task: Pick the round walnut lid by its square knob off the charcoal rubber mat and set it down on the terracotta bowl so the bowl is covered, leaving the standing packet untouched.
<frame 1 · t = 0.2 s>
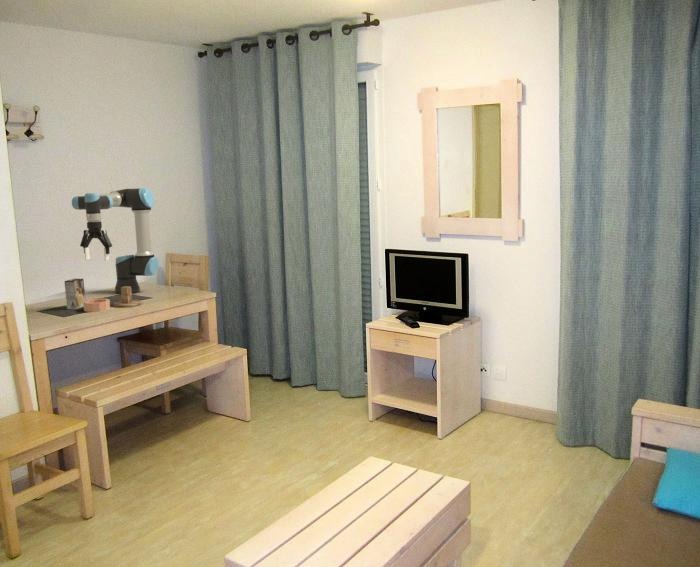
hand: (97, 259, 381), 27 cm above the table, fingers open, 13 cm apart
bowl: (97, 309, 380), on the table
coffee box: (76, 308, 388), on the table
mat: (127, 305, 391), on the table
lid: (127, 304, 391), resting on mat
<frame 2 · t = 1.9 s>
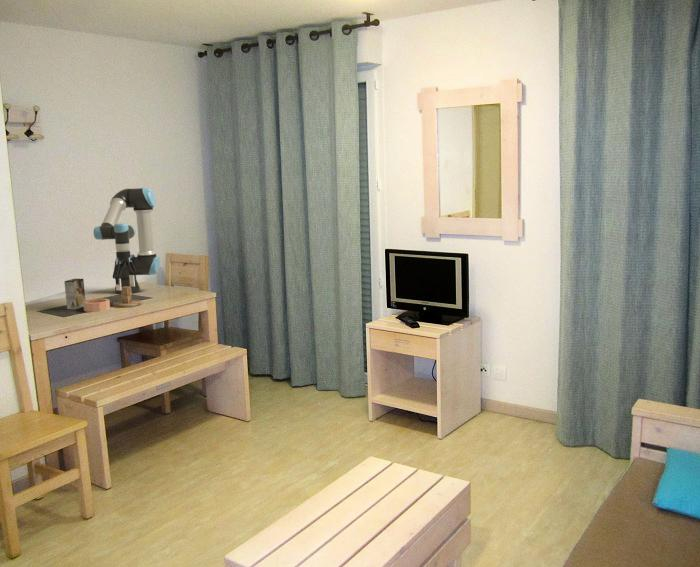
hand: (125, 288, 389), 10 cm above the table, fingers open, 13 cm apart
nothing on the table moved.
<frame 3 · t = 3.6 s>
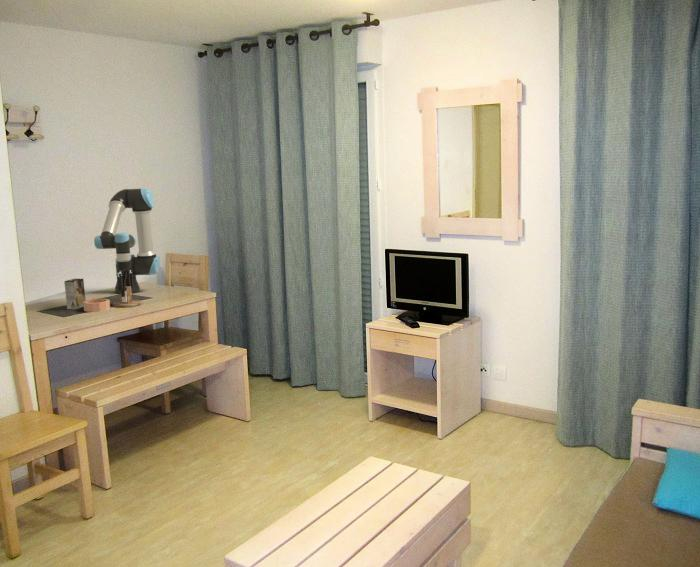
hand: (127, 301, 390), 2 cm above the table, fingers closed on lid, 4 cm apart
lid: (127, 304, 391), resting on mat, touching gripper
everything else where it was.
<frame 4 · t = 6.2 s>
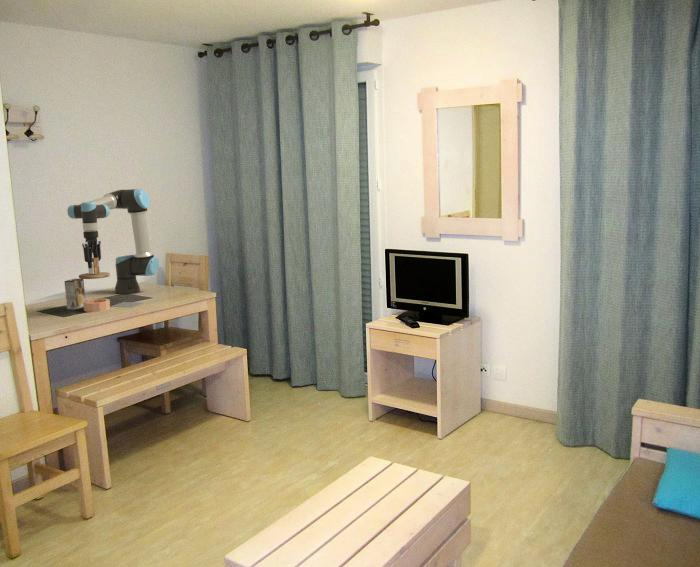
hand: (94, 273, 377), 21 cm above the table, fingers closed on lid, 4 cm apart
lid: (94, 276, 377), point 19 cm above the table, touching gripper
everything else where it was.
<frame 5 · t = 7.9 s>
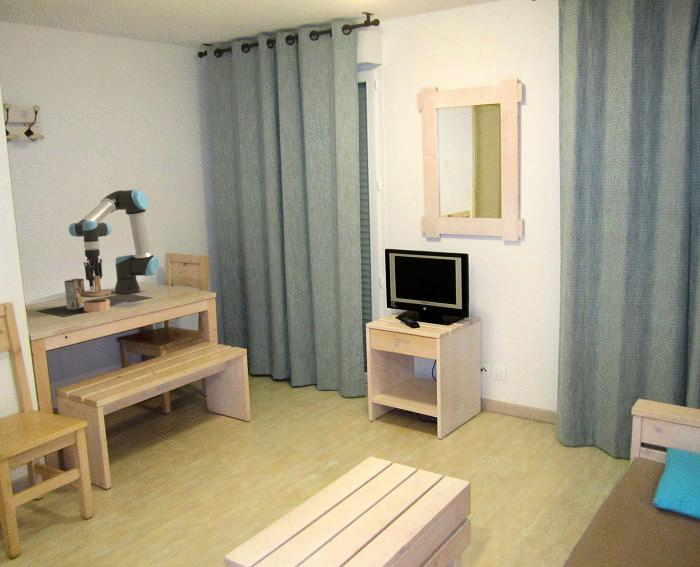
hand: (95, 291, 378), 11 cm above the table, fingers closed on lid, 4 cm apart
lid: (95, 294, 378), point 9 cm above the table, touching gripper
everything else where it was.
when the fingers open (9 cm above the table, at t = 9.0 s): lid drops 2 cm, resting on bowl.
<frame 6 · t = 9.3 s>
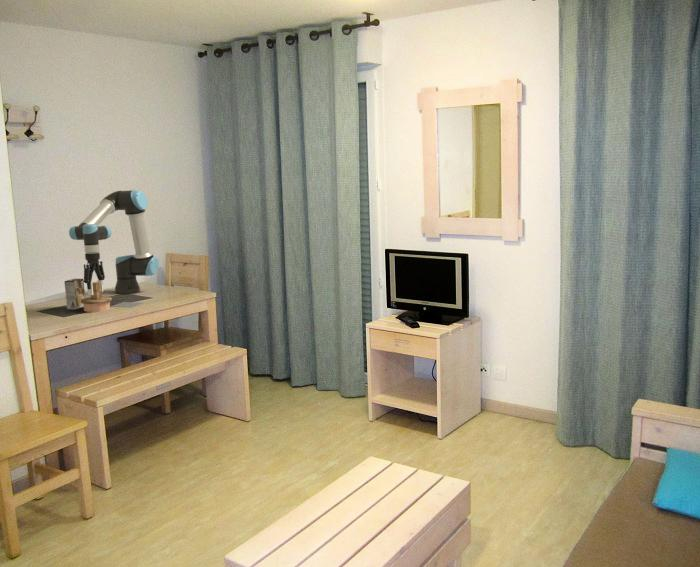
hand: (95, 293, 378), 9 cm above the table, fingers open, 8 cm apart
lid: (96, 301, 379), point 5 cm above the table, touching bowl
everything else where it was.
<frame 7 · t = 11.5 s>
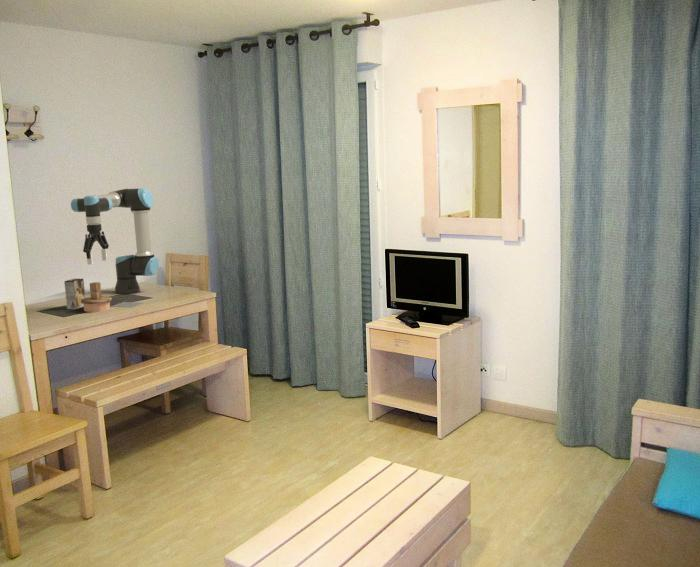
hand: (97, 262, 380), 26 cm above the table, fingers open, 13 cm apart
nothing on the table moved.
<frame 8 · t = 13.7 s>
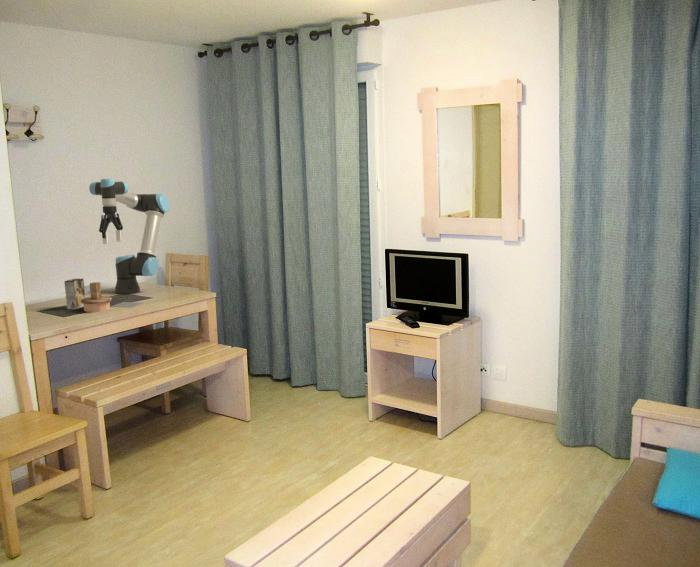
hand: (112, 242, 398), 35 cm above the table, fingers open, 13 cm apart
nothing on the table moved.
at the end: lid 0.1 cm off-centre on the bowl, point 5.0 cm above the bowl's base; lid tilted 0°; the gripper is holding nothing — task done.
